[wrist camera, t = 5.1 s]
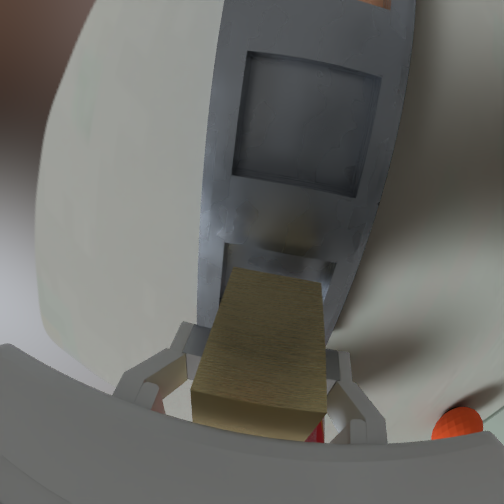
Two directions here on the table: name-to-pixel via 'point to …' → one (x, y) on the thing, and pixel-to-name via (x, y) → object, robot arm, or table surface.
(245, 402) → the tan rectangular block
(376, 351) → the table surface
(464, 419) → the clementine
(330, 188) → the slotted tray
